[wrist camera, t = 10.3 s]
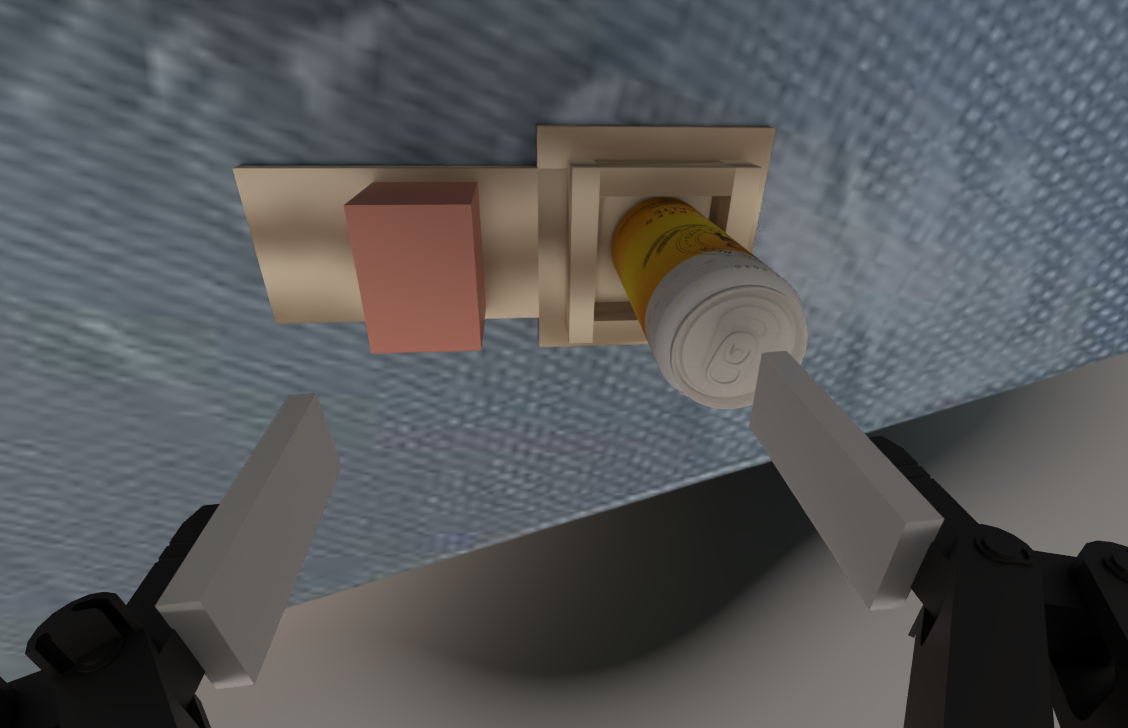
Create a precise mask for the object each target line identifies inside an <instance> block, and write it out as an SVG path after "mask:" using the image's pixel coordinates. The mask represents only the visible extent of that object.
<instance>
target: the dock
mask: <svg viewBox="0 0 1128 728" xmlns="http://www.w3.org/2000/svg"><path fill="white" fill-rule="evenodd" d="M775 132H776V128H774V127H768V126H636V125H536V143H537V166H252V165H241V166H238V167H235V168H233V172H234V176H235V179H236V183H237V186H238V190H239V193H240V197H241V201H242V204H243V208H244V211H245V215H246V218H247V222H248V226H249V229H250V233H251V236H252V240H253V243H254V247H255V250H256V254H257V258H258V261H259V265H260V268H261V272H262V275H263V279H264V283H265V286H266V290H267V293H268V297H269V300H270V304H271V307H272V311H273V315H274V318H275V322H276V323H319V322H363V321H365V317H364V311H363V306H362V301H361V295H360V290H359V285H358V279H357V274H356V269H355V263H354V258H353V253H352V248H351V242H350V237H349V232H348V226H347V221H346V216H345V210H344V204H346V203H347V202H348V201H350V200H351V199H352V198H353V197H355V196H356V195H357V194H358V193H360V192H361V191H362V190H363V189H365V188H366V187H367V186H368V185H370V184H371V183H372V182H478V192H479V208H480V223H481V239H482V255H483V270H484V286H485V301H486V312H485V319H493V318H537V317H538V324H539V347H563V346H599V345H635V344H648V342H647V339H646V337H645V335H644V333H643V330H642V328H641V326H640V323H639V321H638V319H637V317H636V314H635V312H634V310H633V308H632V305H631V303H630V301H629V299H628V296H627V294H626V292H625V290H624V287H623V285H622V283H621V281H620V278H619V276H618V274H617V272H616V269H615V267H614V264H613V260H612V253H611V248H612V240H613V237H614V233H615V231H616V229H617V227H618V225H619V223H620V222H621V220H622V219H623V218H624V216H625V215H626V214H627V213H628V212H629V211H630V210H632V209H633V208H634V207H636V206H637V205H639V204H641V203H643V202H645V201H647V200H651V199H654V198H662V197H668V198H675V199H679V200H682V201H684V202H686V203H688V204H689V205H691V206H692V207H694V208H695V209H696V210H697V211H699V212H700V213H701V214H702V215H704V216H705V217H706V218H707V219H709V220H710V221H711V222H713V223H714V224H715V225H716V226H718V227H719V228H720V229H721V230H723V231H724V232H725V233H726V234H728V235H729V236H730V237H731V238H733V239H734V240H735V241H736V242H738V243H739V244H740V245H741V246H743V247H744V248H745V249H747V250H748V251H749V252H750V253H752V250H753V245H754V240H755V235H756V229H757V224H758V219H759V214H760V209H761V204H762V199H763V193H764V188H765V183H766V178H767V173H768V168H769V163H770V157H771V152H772V147H773V142H774V137H775Z"/></svg>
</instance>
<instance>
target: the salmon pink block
mask: <svg viewBox="0 0 1128 728" xmlns="http://www.w3.org/2000/svg"><path fill="white" fill-rule="evenodd" d="M344 210H345V216H346V221H347V226H348V232H349V237H350V242H351V248H352V253H353V258H354V263H355V269H356V274H357V279H358V285H359V290H360V295H361V301H362V306H363V311H364V317H365V322H366V327H367V332H368V338H369V343H370V348H371V353H407V352H442V351H478V350H481V349H482V340H483V330H484V321H485V312H486V301H485V286H484V270H483V255H482V239H481V223H480V208H479V192H478V182H372V183H371V184H370V185H368V186H367V187H366V188H365V189H363V190H362V191H361V192H360V193H358V194H357V195H356V196H355V197H353V198H352V199H351V200H350V201H348V202H347V203H346V204H344Z"/></svg>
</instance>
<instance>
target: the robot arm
mask: <svg viewBox="0 0 1128 728" xmlns="http://www.w3.org/2000/svg"><path fill="white" fill-rule="evenodd" d="M749 426H750V428H751V429H752V431H753V432H754V434H755V435H756V437H757V438H758V440H759V441H760V443H761V444H762V446H763V448H764V449H765V451H766V452H767V454H768V455H769V457H770V458H771V460H772V461H773V463H774V464H775V466H776V468H777V469H778V470H779V472H780V474H781V475H782V477H783V478H784V480H785V481H786V483H787V484H788V486H789V487H790V489H791V491H792V492H793V494H794V495H795V497H796V498H797V500H798V501H799V503H800V504H801V506H802V508H803V509H804V511H805V512H806V514H807V515H808V517H809V518H810V520H811V521H812V523H813V524H814V526H815V528H816V529H817V531H818V532H819V534H820V535H821V537H822V538H823V540H824V541H825V543H826V544H827V546H828V547H829V549H830V550H831V552H832V554H833V555H834V557H835V558H836V560H837V561H838V563H839V564H840V566H841V568H842V569H843V571H844V572H845V573H846V575H847V577H848V578H849V580H850V581H851V583H852V584H853V586H854V588H855V589H856V590H857V592H858V594H859V595H860V597H861V598H862V600H863V601H864V603H865V604H866V606H867V607H868V609H869V610H870V611H872V610H880V609H888V608H897V607H903V606H904V604H905V601H906V599H907V597H908V595H909V593H910V591H911V589H912V590H913V591H914V593H915V594H916V595H917V597H918V598H919V599H920V601H921V602H922V603H923V606H922V608H921V610H920V612H919V614H918V616H917V618H916V620H915V623H914V624H913V626H912V628H911V630H910V632H909V634H908V635H909V636H911V637H915V635H916V637H915V645H914V652H913V660H912V667H911V675H910V683H909V690H908V699H907V705H906V713H905V721H904V728H1054V718H1053V709H1054V711H1055V714H1056V717H1057V720H1058V722H1059V725H1060V728H1128V547H1126V546H1123V545H1119V544H1116V543H1113V542H1105V541H1094V542H1090V543H1086V544H1085V546H1084V547H1083V549H1082V550H1081V552H1080V553H1079V555H1078V556H1077V557H1073V556H1066V555H1059V554H1053V553H1046V552H1040V551H1034V550H1032V549H1031V548H1030V547H1029V546H1028V545H1027V544H1026V543H1025V542H1023V541H1022V540H1020V539H1019V538H1017V537H1016V536H1015V535H1012V534H1011V533H1009V532H1006V531H1004V530H1002V529H999V528H996V527H992V526H988V525H984V524H978V523H977V522H976V521H975V520H974V519H973V518H972V517H971V516H970V515H969V514H968V513H967V512H966V511H965V510H964V509H963V508H962V507H961V506H960V505H959V504H958V503H957V502H956V501H955V500H954V499H953V498H952V497H951V496H950V495H949V494H948V493H947V492H946V491H945V490H944V489H943V488H942V487H941V486H940V485H939V484H938V483H937V482H936V481H935V480H934V479H931V478H930V475H929V474H928V473H927V472H926V471H925V470H924V469H923V468H922V467H921V466H918V463H917V462H916V461H915V460H914V459H913V458H912V457H911V456H910V455H909V454H908V453H907V452H906V451H905V450H904V449H903V448H901V447H900V446H898V445H896V444H895V443H893V442H891V441H890V440H888V439H886V438H885V437H883V436H878V437H867V436H866V435H865V434H864V433H863V432H862V431H861V430H860V428H859V427H858V426H857V425H856V424H855V423H854V422H853V421H852V420H851V419H850V418H849V417H848V416H847V415H846V414H845V412H844V411H843V410H842V409H841V408H840V407H839V406H838V405H837V404H836V403H835V402H834V401H833V400H832V399H831V398H830V397H829V395H828V394H827V393H826V392H825V391H824V390H823V389H822V388H821V387H820V386H819V385H818V384H817V383H816V382H815V381H814V379H813V378H812V377H811V376H810V375H809V374H808V373H807V372H806V371H805V370H804V369H803V368H802V367H801V366H800V365H799V363H798V362H797V361H796V360H795V359H794V358H793V357H792V356H791V355H790V354H789V353H788V352H787V351H777V352H766V353H762V354H761V360H760V366H759V372H758V378H757V383H756V389H755V395H754V401H753V407H752V413H751V418H750V424H749ZM341 467H342V464H341V461H340V459H339V456H338V453H337V450H336V447H335V445H334V442H333V439H332V436H331V433H330V430H329V428H328V425H327V422H326V419H325V416H324V413H323V411H322V408H321V405H320V402H319V399H318V396H317V394H316V393H310V394H298V395H289V396H288V398H287V399H286V401H285V402H284V404H283V405H282V407H281V409H280V410H279V412H278V413H277V415H276V416H275V418H274V420H273V421H272V423H271V424H270V426H269V427H268V429H267V431H266V432H265V434H264V435H263V437H262V438H261V440H260V442H259V443H258V445H257V446H256V448H255V449H254V451H253V453H252V454H251V456H250V457H249V459H248V460H247V462H246V464H245V465H244V467H243V468H242V470H241V471H240V473H239V475H238V476H237V478H236V479H235V481H234V482H233V484H232V486H231V487H230V489H229V490H228V492H227V493H226V495H225V497H224V498H223V500H222V501H221V503H220V504H214V505H204V506H202V507H201V508H200V509H199V510H197V511H196V512H195V513H194V514H193V515H192V516H191V517H189V518H188V519H187V520H186V521H185V522H184V523H183V524H182V525H181V526H180V528H179V529H178V531H177V532H176V534H175V535H174V537H173V538H172V540H171V541H170V542H169V543H170V545H169V546H167V547H166V548H165V550H164V551H163V553H162V554H161V555H160V557H159V561H158V562H156V563H155V564H154V566H153V567H152V569H151V570H150V571H149V573H148V574H147V576H146V577H145V579H144V580H143V582H142V583H141V585H140V586H139V587H138V589H137V590H136V592H135V593H134V595H133V596H132V598H131V599H130V601H129V602H128V603H127V605H125V604H124V602H123V601H122V600H121V599H120V598H119V596H118V595H117V594H116V593H109V592H100V593H95V594H89V595H87V596H84V597H82V598H79V599H77V600H75V601H72V602H70V603H69V604H67V605H66V606H64V607H62V608H61V609H59V610H58V611H56V612H55V613H53V614H52V615H51V616H50V617H49V618H48V619H46V620H45V621H44V622H43V623H42V624H41V625H40V626H39V627H38V628H37V629H36V631H35V632H34V633H33V635H32V636H31V638H30V639H29V641H28V643H27V647H26V652H25V654H26V655H27V656H28V657H29V658H30V659H31V660H32V661H33V662H34V663H35V664H36V665H37V666H38V667H39V668H40V669H41V671H38V672H35V673H33V674H30V675H27V676H25V677H22V678H19V679H17V680H14V681H11V682H8V683H7V682H5V681H4V680H3V679H2V678H1V677H0V728H211V726H210V724H209V721H208V719H207V716H206V713H205V711H204V709H203V706H202V703H201V701H200V700H199V698H198V697H197V696H196V695H195V692H196V690H197V688H198V686H199V684H200V682H201V680H202V678H203V676H204V674H205V675H206V676H207V678H208V679H209V680H210V682H211V683H212V684H213V686H214V687H215V688H216V689H221V688H229V687H237V686H246V685H254V684H255V682H256V679H257V677H258V674H259V672H260V669H261V667H262V664H263V662H264V659H265V657H266V654H267V652H268V649H269V647H270V644H271V642H272V639H273V637H274V634H275V632H276V629H277V627H278V624H279V622H280V619H281V617H282V614H283V612H284V609H285V607H286V604H287V602H288V599H289V597H290V594H291V592H292V589H293V587H294V584H295V582H296V579H297V577H298V574H299V572H300V569H301V567H302V564H303V562H304V559H305V557H306V554H307V552H308V549H309V547H310V544H311V542H312V539H313V537H314V534H315V532H316V529H317V527H318V524H319V522H320V519H321V517H322V514H323V512H324V509H325V507H326V504H327V502H328V499H329V497H330V494H331V492H332V489H333V487H334V484H335V482H336V479H337V477H338V474H339V472H340V469H341Z"/></svg>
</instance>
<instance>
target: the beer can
mask: <svg viewBox="0 0 1128 728" xmlns="http://www.w3.org/2000/svg"><path fill="white" fill-rule="evenodd" d="M611 253H612V260H613V264H614V267H615V269H616V272H617V274H618V276H619V278H620V281H621V283H622V285H623V287H624V290H625V292H626V294H627V296H628V299H629V301H630V303H631V305H632V308H633V310H634V312H635V314H636V317H637V319H638V321H639V323H640V326H641V328H642V330H643V333H644V335H645V337H646V339H647V342H648V344H649V346H650V348H651V351H652V353H653V355H654V357H655V360H656V362H657V364H658V366H659V369H660V371H661V373H662V374H663V376H664V378H665V379H666V380H667V381H668V383H669V384H670V385H671V386H672V387H673V388H675V389H676V390H677V391H679V392H680V393H682V394H684V395H686V396H688V397H690V398H692V399H693V400H694V401H696V402H698V403H700V404H703V405H705V406H708V407H712V408H719V409H736V408H742V407H746V406H750V405H753V401H754V395H755V389H756V383H757V378H758V372H759V366H760V360H761V354H762V353H766V352H777V351H787V352H788V353H789V354H790V355H791V356H792V357H793V358H794V359H795V360H796V361H797V362H798V363H799V365H801V363H802V360H803V358H804V355H805V352H806V348H807V342H808V332H807V325H806V322H805V316H804V310H803V306H802V303H801V301H800V298H799V296H798V295H797V293H796V291H795V290H794V289H793V288H792V286H791V285H790V284H789V283H788V282H787V281H785V280H784V279H783V278H782V277H781V276H779V275H778V274H777V273H775V272H774V271H773V270H772V269H770V268H769V267H768V266H767V265H765V264H764V263H763V262H762V261H760V260H759V259H758V258H757V257H755V256H754V255H753V254H752V253H750V252H749V251H748V250H747V249H745V248H744V247H743V246H741V245H740V244H739V243H738V242H736V241H735V240H734V239H733V238H731V237H730V236H729V235H728V234H726V233H725V232H724V231H723V230H721V229H720V228H719V227H718V226H716V225H715V224H714V223H713V222H711V221H710V220H709V219H707V218H706V217H705V216H704V215H702V214H701V213H700V212H699V211H697V210H696V209H695V208H694V207H692V206H691V205H689V204H688V203H686V202H684V201H682V200H679V199H675V198H668V197H662V198H654V199H651V200H647V201H645V202H643V203H641V204H639V205H637V206H636V207H634V208H633V209H632V210H630V211H629V212H628V213H627V214H626V215H625V216H624V218H623V219H622V220H621V222H620V223H619V225H618V227H617V229H616V231H615V233H614V237H613V240H612V248H611Z"/></svg>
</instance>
